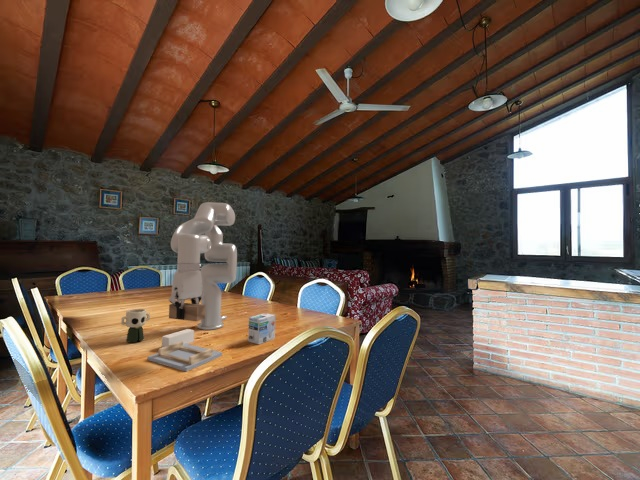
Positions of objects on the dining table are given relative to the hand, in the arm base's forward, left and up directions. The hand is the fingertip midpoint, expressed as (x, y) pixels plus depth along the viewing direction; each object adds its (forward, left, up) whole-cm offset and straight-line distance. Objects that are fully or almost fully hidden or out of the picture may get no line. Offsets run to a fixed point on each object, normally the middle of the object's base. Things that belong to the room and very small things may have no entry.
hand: (187, 316), depth 107 cm
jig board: (-1, -1, -15) cm, 15 cm away
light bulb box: (-31, +11, -16) cm, 36 cm away
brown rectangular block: (0, 0, -1) cm, 1 cm away
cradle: (0, 0, -14) cm, 14 cm away
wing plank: (-9, -15, -16) cm, 23 cm away
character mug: (-3, -34, -16) cm, 37 cm away
